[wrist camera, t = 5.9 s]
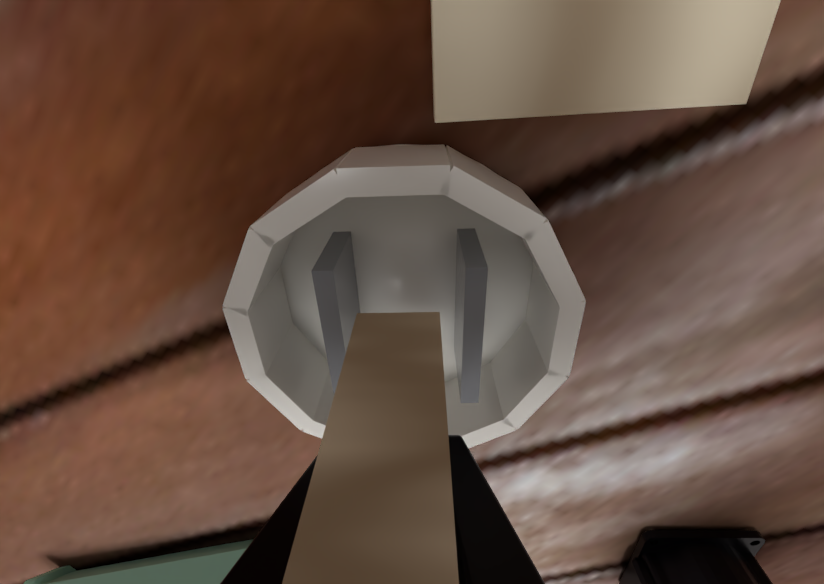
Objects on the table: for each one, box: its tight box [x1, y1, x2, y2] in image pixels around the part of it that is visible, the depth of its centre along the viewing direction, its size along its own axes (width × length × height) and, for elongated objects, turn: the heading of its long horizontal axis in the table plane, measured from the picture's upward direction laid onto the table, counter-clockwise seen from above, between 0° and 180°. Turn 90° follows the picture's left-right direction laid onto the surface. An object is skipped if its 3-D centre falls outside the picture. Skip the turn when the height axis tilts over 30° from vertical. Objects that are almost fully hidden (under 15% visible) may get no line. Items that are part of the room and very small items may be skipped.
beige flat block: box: [430, 0, 781, 123], centre depth 10 cm, size 8×4×2 cm, turn 93°
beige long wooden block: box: [282, 312, 459, 584], centre depth 7 cm, size 2×4×8 cm, turn 2°
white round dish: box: [222, 144, 586, 448], centre depth 13 cm, size 10×10×3 cm
